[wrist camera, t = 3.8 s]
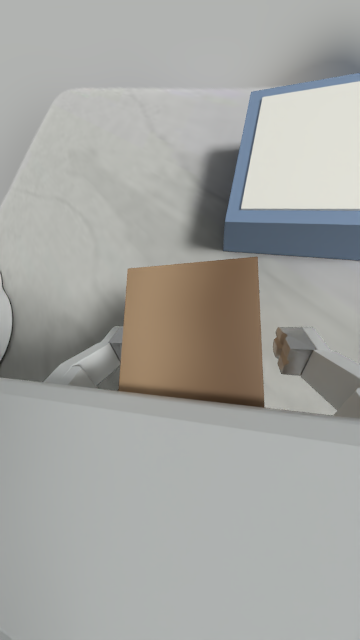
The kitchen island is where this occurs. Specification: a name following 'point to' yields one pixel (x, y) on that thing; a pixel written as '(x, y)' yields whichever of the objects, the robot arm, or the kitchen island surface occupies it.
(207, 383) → the walnut block
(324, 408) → the kitchen island surface
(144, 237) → the kitchen island surface
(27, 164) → the kitchen island surface
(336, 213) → the pedestal
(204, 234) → the kitchen island surface
